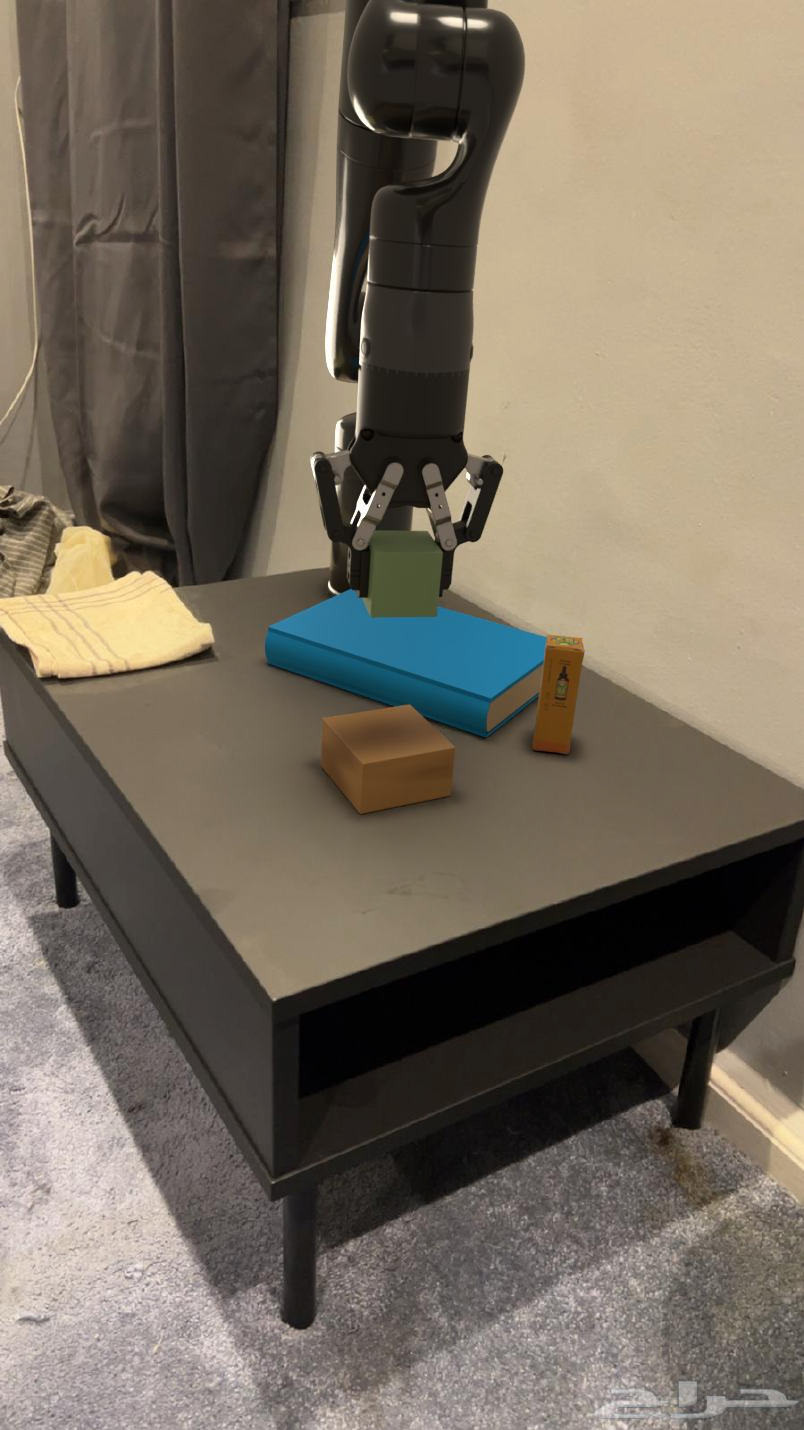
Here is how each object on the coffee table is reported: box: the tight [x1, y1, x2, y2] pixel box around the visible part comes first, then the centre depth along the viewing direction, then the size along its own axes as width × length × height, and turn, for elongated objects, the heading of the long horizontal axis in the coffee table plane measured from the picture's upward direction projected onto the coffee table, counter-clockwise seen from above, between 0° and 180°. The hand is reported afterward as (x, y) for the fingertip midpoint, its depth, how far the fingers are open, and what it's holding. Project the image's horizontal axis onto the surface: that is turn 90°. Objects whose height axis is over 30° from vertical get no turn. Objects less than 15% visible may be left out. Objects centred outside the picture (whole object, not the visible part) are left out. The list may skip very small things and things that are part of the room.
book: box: [264, 589, 547, 738], centre depth 105 cm, size 17×4×25 cm
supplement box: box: [532, 634, 586, 755], centre depth 91 cm, size 3×4×10 cm
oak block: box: [320, 704, 456, 815], centre depth 85 cm, size 8×8×4 cm
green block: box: [362, 530, 443, 617], centre depth 78 cm, size 5×5×5 cm
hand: (397, 593), depth 79 cm, fingers closed on green block, 5 cm apart
